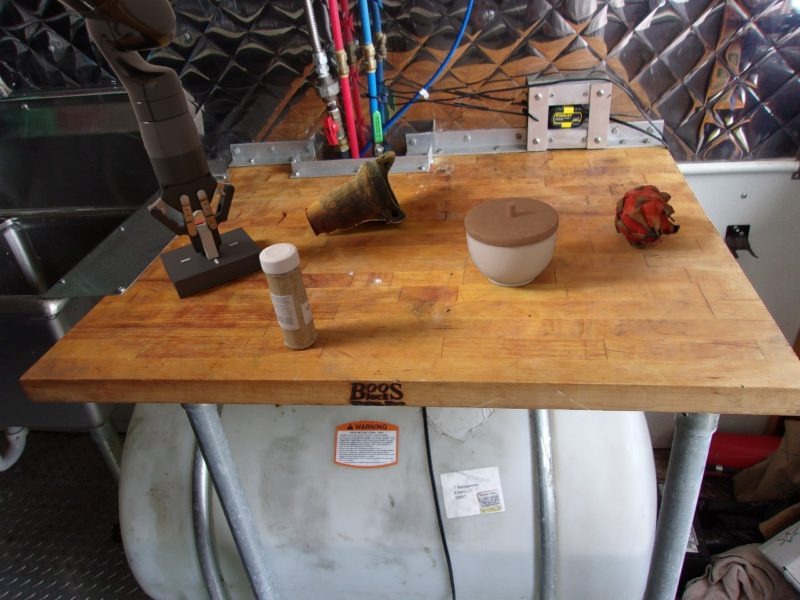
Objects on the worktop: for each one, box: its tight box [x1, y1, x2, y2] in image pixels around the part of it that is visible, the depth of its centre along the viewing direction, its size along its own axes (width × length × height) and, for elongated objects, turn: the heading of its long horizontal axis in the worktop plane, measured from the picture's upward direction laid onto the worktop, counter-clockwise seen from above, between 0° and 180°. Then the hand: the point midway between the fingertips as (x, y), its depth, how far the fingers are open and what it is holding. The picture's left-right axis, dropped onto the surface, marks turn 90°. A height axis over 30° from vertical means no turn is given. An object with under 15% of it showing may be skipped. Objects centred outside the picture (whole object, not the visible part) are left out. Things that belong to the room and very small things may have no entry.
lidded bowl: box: [464, 196, 560, 288], centre depth 81 cm, size 13×13×11 cm
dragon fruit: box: [613, 184, 681, 250], centre depth 87 cm, size 8×8×12 cm
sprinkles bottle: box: [259, 242, 318, 350], centre depth 73 cm, size 5×5×14 cm
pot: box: [304, 150, 408, 237], centre depth 102 cm, size 17×11×18 cm
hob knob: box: [194, 219, 219, 260], centre depth 92 cm, size 5×2×5 cm, turn 30°
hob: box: [159, 226, 263, 299], centre depth 94 cm, size 14×11×3 cm
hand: (209, 250), depth 93 cm, fingers closed on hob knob, 2 cm apart
